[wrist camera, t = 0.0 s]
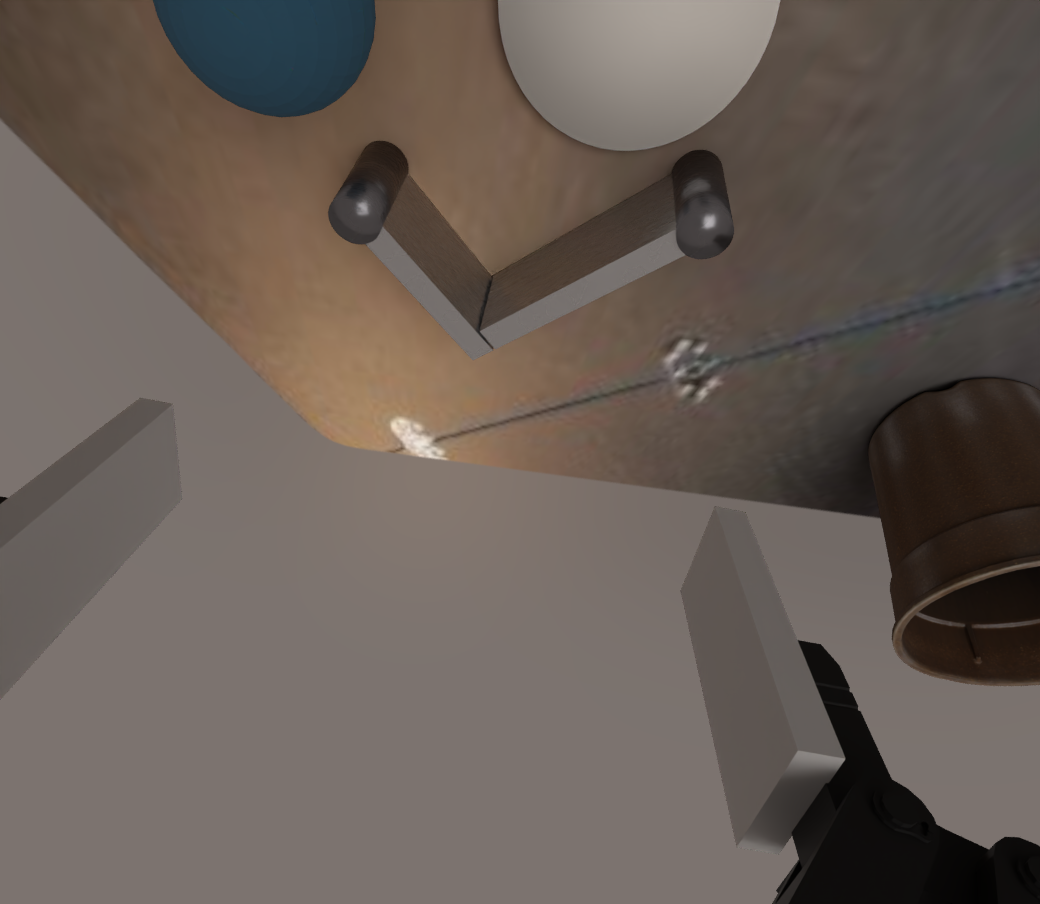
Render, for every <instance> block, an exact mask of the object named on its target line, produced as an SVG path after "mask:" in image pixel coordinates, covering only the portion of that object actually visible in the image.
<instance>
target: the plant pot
mask: <svg viewBox="0 0 1040 904" xmlns="http://www.w3.org/2000/svg"><path fill="white" fill-rule="evenodd" d="M868 457H869V463H870V468H871V472H872V477H873V482H874V487H875V492H876V497H877V502H878V507H879V512H880V517H881V522H882V527H883V532H884V537H885V541H886V547H887V552H888V557H889V562H890V567H891V572H892V578H891V582H890V593H891V598H892V603H893V609H894V616H895V621H896V622H895V624H894V627H893V630H892V641H893V646H894V650H895V652H896V654H897V655H898V657H899V658H900V659H901V660H902V661H903V662H904V663H906V664H907V665H908V666H910V667H911V668H913V669H915V670H917V671H919V672H922V673H924V674H927V675H929V676H932V677H936V678H940V679H946V680H950V681H954V682H960V683H965V684H975V685H985V686H1028V685H1040V390H1038V389H1036V388H1034V387H1032V386H1030V385H1028V384H1025V383H1021V382H1018V381H1013V380H1007V379H998V378H983V379H972V380H965V381H960V382H958V383H957V384H955V385H954V386H953V387H952V388H950V389H947V390H943V391H938V392H924V393H922V394H920V395H918V396H916V397H914V398H912V399H911V400H909V401H907V402H906V403H904V404H903V405H901V406H900V407H898V408H897V409H896V410H894V411H893V412H892V413H891V414H890V415H889V416H888V417H886V418H885V420H884V421H883V422H882V423H881V424H880V425H879V427H878V428H877V429H876V431H875V432H874V434H873V436H872V438H871V441H870V444H869V448H868Z"/></svg>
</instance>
